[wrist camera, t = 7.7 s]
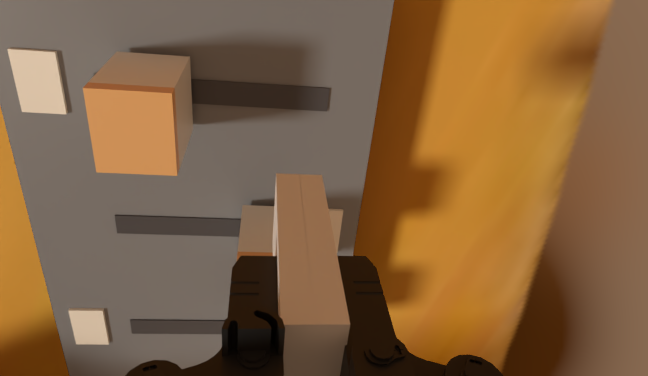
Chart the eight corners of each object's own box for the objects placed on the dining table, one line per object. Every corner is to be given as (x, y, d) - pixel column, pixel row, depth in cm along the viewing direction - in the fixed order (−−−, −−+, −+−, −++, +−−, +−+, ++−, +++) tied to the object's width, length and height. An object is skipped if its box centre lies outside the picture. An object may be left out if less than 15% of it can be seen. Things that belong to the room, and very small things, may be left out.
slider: (125, 125, 24) (96, 172, 20) (116, 51, 22) (82, 88, 18) (193, 128, 25) (177, 175, 21) (190, 56, 23) (171, 93, 19)
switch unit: (84, 342, 36) (68, 380, 34) (-2, -49, 23) (-40, -40, 20) (329, 343, 38) (333, 379, 36) (382, -14, 25) (395, -1, 22)
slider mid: (241, 256, 29) (236, 315, 25) (242, 204, 27) (236, 259, 23) (296, 257, 29) (299, 316, 25) (301, 207, 27) (305, 261, 24)
